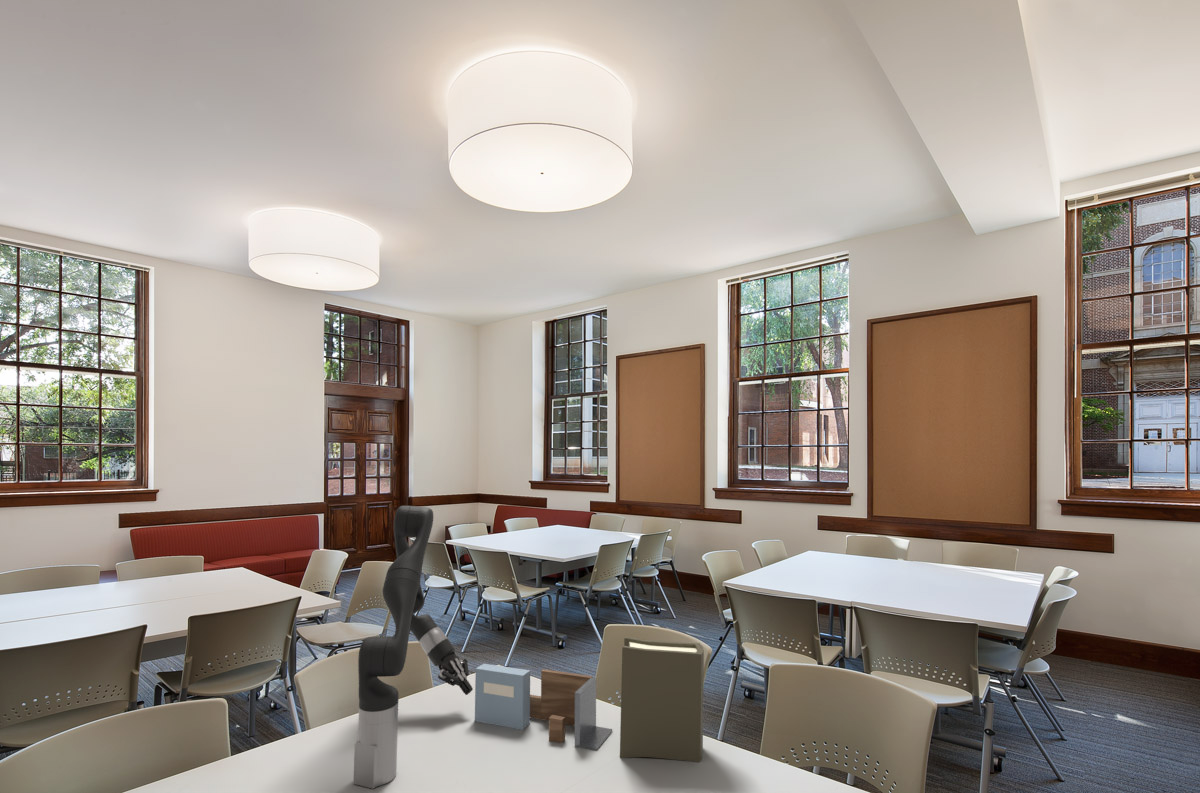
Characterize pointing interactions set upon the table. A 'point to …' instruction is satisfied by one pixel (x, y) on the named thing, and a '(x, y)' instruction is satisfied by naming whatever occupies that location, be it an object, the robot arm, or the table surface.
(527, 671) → the boxed book
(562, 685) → the rail
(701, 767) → the table surface
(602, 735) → the bookend
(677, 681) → the book
